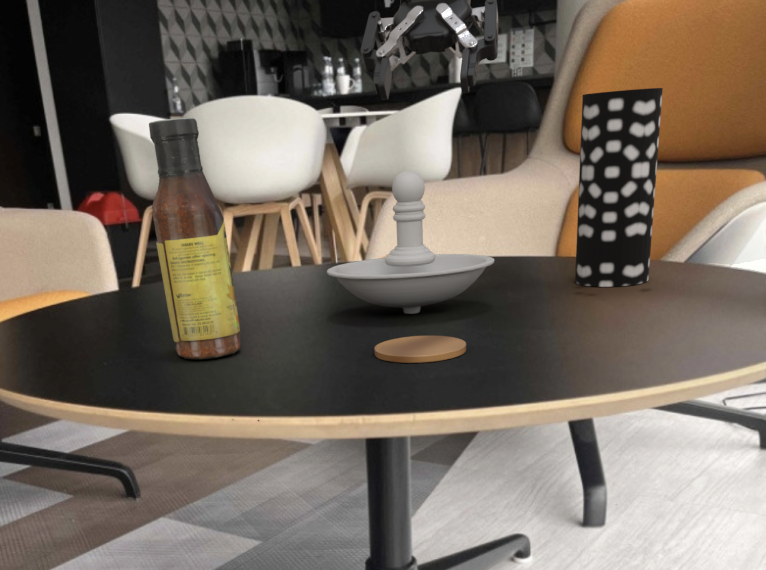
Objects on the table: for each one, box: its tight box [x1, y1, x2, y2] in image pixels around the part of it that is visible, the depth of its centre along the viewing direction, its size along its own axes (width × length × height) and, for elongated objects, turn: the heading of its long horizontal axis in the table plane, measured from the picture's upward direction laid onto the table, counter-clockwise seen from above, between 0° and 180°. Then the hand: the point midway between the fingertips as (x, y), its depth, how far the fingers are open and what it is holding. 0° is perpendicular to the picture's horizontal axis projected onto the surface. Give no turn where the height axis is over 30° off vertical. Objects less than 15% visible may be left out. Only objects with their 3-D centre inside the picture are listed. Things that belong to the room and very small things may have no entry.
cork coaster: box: [374, 335, 467, 364], centre depth 76 cm, size 8×8×1 cm
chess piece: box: [384, 170, 436, 267], centre depth 90 cm, size 5×5×9 cm
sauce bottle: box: [148, 117, 241, 361], centre depth 77 cm, size 6×6×20 cm
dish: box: [326, 253, 495, 315], centre depth 93 cm, size 18×14×5 cm
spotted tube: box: [574, 87, 664, 288], centre depth 99 cm, size 8×8×20 cm
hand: (423, 89), depth 90 cm, fingers open, 8 cm apart
